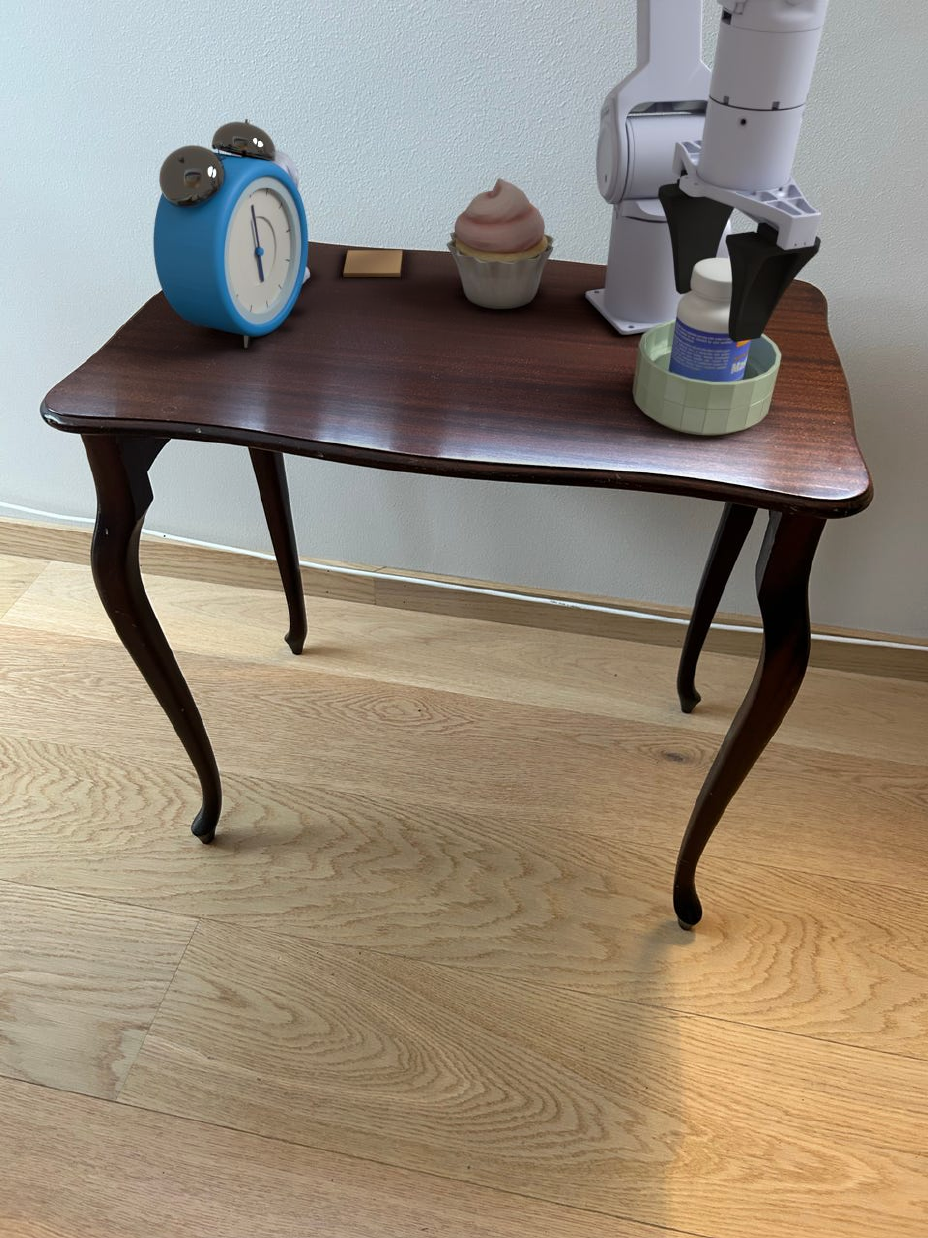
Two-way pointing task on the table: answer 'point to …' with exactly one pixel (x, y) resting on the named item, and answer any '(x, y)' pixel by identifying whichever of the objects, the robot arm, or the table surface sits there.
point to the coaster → (373, 263)
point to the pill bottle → (707, 328)
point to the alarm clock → (230, 234)
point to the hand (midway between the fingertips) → (716, 313)
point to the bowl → (703, 388)
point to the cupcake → (500, 248)
